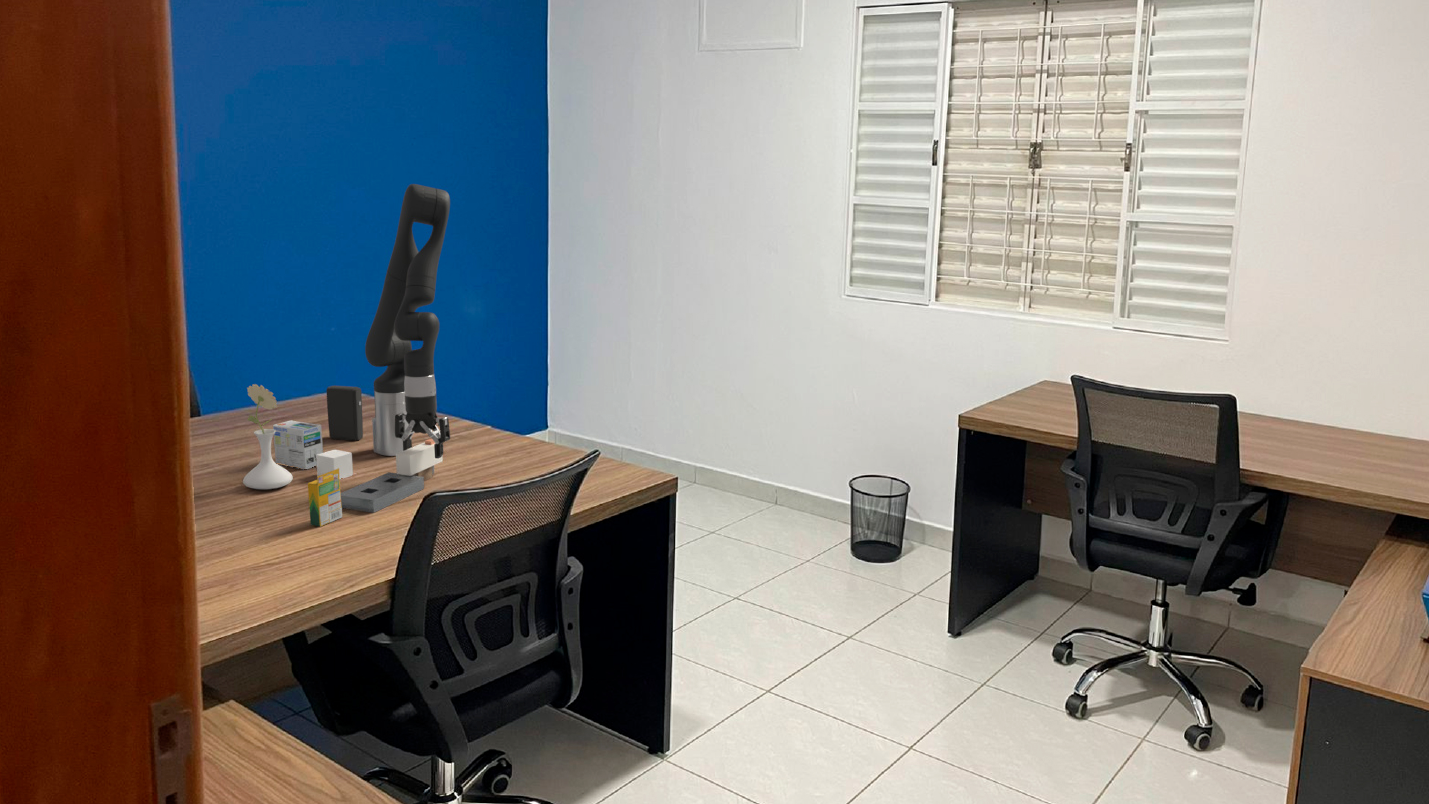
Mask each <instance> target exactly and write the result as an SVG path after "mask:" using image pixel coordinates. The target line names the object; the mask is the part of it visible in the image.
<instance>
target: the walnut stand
mask: <svg viewBox="0 0 1429 804" xmlns="http://www.w3.org/2000/svg"><path fill="white" fill-rule="evenodd" d="M414 476H421V477H424V482H426V481H428V480H430V479H432V478H433V474H432V466H431V467H429V468H427V469H424V470H422V471H420V472H418V473H416V474H414ZM429 478H430V479H429Z"/></svg>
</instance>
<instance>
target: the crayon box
mask: <svg viewBox="0 0 1429 804" xmlns="http://www.w3.org/2000/svg"><path fill="white" fill-rule="evenodd" d="M328 474H333V475H328ZM327 475H328V476H327ZM324 476H326V477H324ZM340 480H341V479H340V478H339V468H338V469H335V470H333V471H330V472H327V473H325V474H322V475H319V476H318V475H317V476H316V479H315V480H312V481H311V482H307V492H308V493H307V495H308V506H309V520H310V526H313V525H315V526H314V527H318V526H319V528H322V527H323V526H326V525H328V524H329V523H332V522H334V521H336V520H339V519H342V518H343V508H342V506H341V493H342V492H341V481H340ZM321 526H322V527H321Z"/></svg>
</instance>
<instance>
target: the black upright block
mask: <svg viewBox="0 0 1429 804" xmlns="http://www.w3.org/2000/svg"><path fill="white" fill-rule="evenodd" d="M326 404H327V421H328V435H329V438H330V439H332V440H340V441H341V440H342V441H343V440H344V441H355V440H356V441H359V440H361V439H363V437H364V427H363V426H364V419H363V400H362V389H361V388H360V387H358V386H347V385H330V386H328V387H327V388H326Z"/></svg>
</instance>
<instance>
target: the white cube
mask: <svg viewBox="0 0 1429 804" xmlns="http://www.w3.org/2000/svg"><path fill="white" fill-rule="evenodd" d="M316 459H317V466H316V472H317V474H316V475H317V476H319V475H322V474H325V473H327V472H330V471H333V470H335V469H338V468H339V478H340V480H342V479H341V478H343V479H346V478H349V477H352V475H354V471H353V454H352V452H350V451H349V452H348V451H345V450H339V449H332V450H328V451H325V452H324V451H323V453H321V454H317V455H316ZM328 475H333V474H328ZM328 475H327V476H328ZM324 477H326V476H324Z"/></svg>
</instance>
